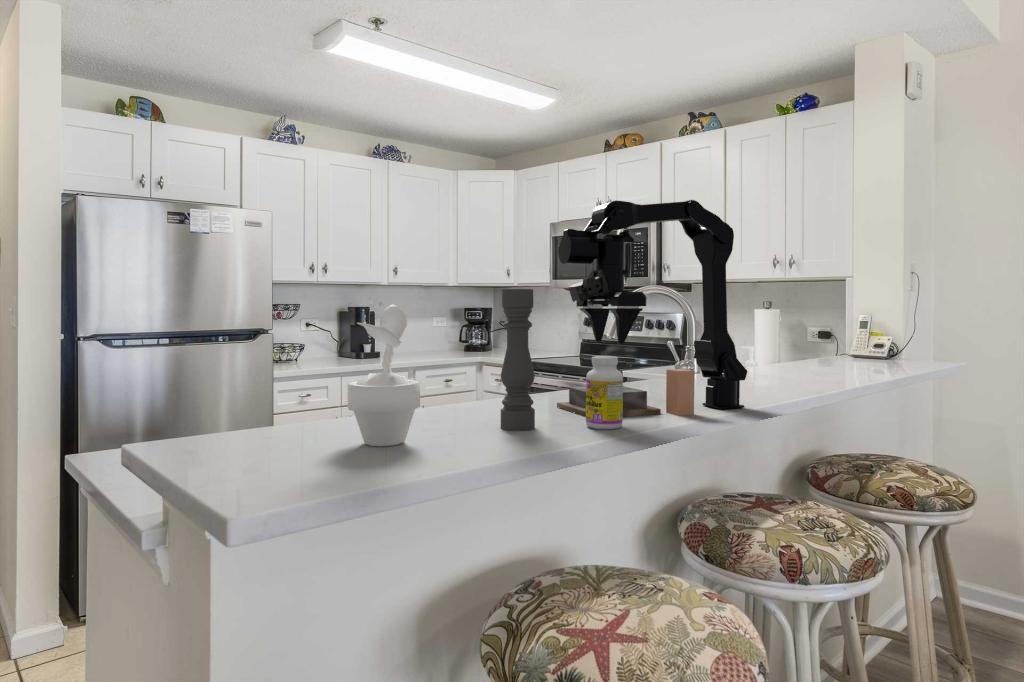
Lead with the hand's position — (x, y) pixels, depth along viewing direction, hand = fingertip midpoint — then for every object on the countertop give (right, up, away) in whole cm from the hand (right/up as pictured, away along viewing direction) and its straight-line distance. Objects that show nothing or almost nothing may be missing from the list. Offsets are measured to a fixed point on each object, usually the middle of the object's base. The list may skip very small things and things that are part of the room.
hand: (609, 342), depth 133 cm
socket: (0, -14, +6) cm, 16 cm away
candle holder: (-19, -16, -14) cm, 28 cm away
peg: (+15, -15, +2) cm, 21 cm away
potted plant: (-41, -16, -28) cm, 52 cm away
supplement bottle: (-3, -16, -13) cm, 21 cm away
